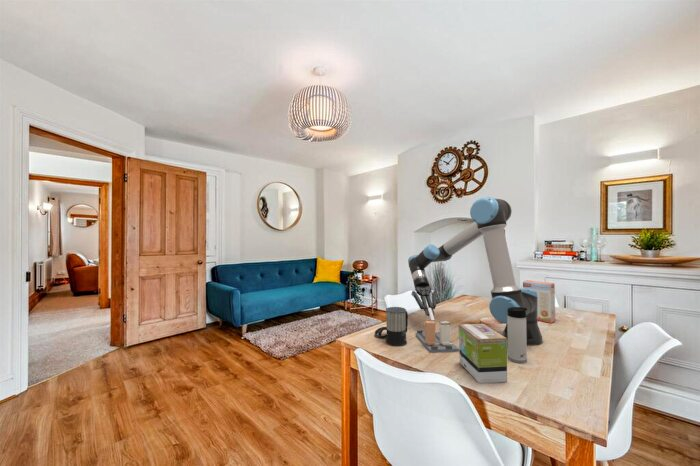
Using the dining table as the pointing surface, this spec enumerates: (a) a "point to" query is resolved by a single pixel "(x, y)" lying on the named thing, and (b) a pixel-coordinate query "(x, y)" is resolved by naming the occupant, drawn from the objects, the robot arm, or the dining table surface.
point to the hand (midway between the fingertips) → (432, 321)
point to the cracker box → (543, 299)
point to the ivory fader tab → (444, 332)
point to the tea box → (483, 353)
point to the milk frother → (395, 326)
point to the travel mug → (517, 334)
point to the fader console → (434, 339)
